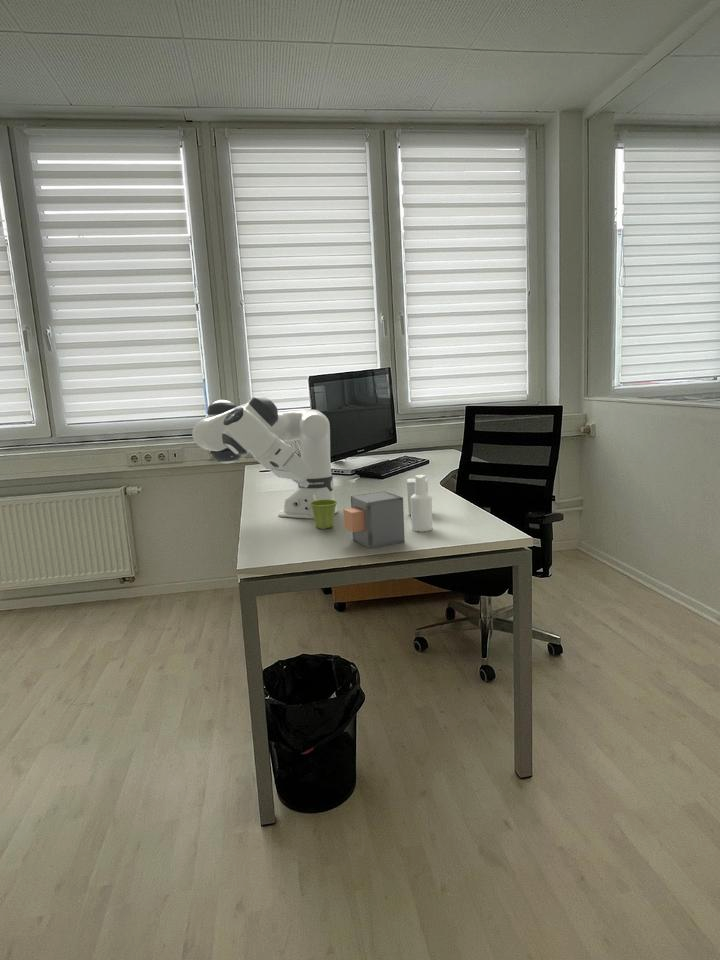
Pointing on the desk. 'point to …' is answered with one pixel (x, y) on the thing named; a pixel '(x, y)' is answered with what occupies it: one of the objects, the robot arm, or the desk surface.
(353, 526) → the button
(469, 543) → the desk surface
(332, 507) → the plant pot
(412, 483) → the supplement box
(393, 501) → the button box
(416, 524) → the spray bottle
